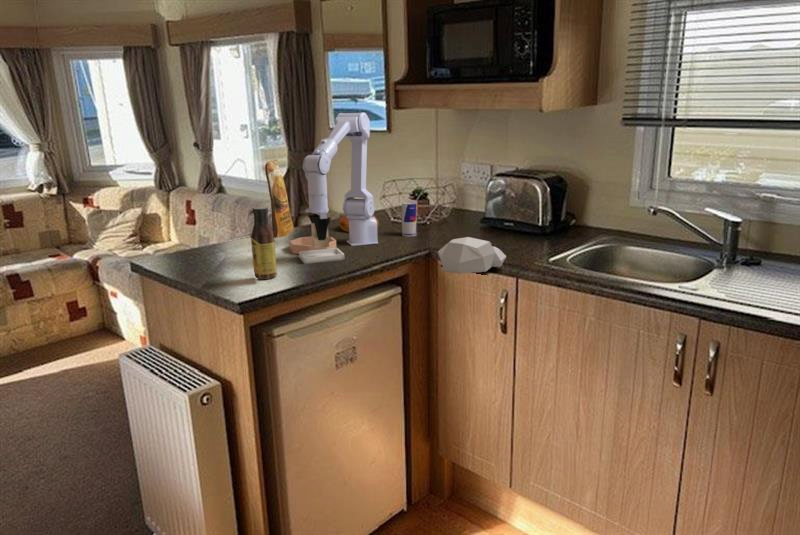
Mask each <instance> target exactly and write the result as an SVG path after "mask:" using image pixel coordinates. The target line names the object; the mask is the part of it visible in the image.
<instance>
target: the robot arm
mask: <svg viewBox="0 0 800 535" xmlns="http://www.w3.org/2000/svg"><path fill="white" fill-rule="evenodd" d="M370 128H371V119H370V117H369V116H368V114H367V113H366V112H363V111H362V112H349V113H348V112H347V113H345V112H344V113H343V112H339V113H338V114H337V116H336V118H335V119H334V127H333V129H332V130H331V133H330V134H329V136H328V137H327V138H326V137H325V138H322V139H321V140H320V142H319V144H318V145H317V146H316V148H315V149H314V151H313V152H312V153H311V154H308V155H307V156H305V157H304V159H303V161H302V170H303V171H304V175H305V178H306V181H307V195H308V206H309V207H308V208H307V209H305V212H306V213H311V214H308V215H307V217H308V218H309V221H310V224H311V223H314V224H315V227H316V232H317V236H318V240H325V239H326V234H327V228H328V229H329V224H330V222H331V219H332V218H331V217H330V216H328V213H329V210H330V209H329V201H328V184H327V182H328V181H327V180H328V179H327V173H329V171H330V168H331V163H332V159H333V158H334V157H335V155H336V154H337V152H338V144H339V143H340V142H341V141H342V140H343V139H344V138H346V139H348V140H349V141H350V142H351V162H350V163H351V164H350V168H351V170H350V172H351V173H350V190H348V192H346V193H345V194H344V200H343V203H342V212H343V214H344V215H346V216H347V218H349V232H348V234H349V239H348V240H346V243H347V244H349V245H350V246H352V247H355V246H356V247H357V246H367V245H376V244H379V241H378V229H377V222H376V219H375V217H376V216H375V217H371V216H372V215H374V213H375V209H376V206H375V202H374V201H375V200H374V195H373V194H372V193H371V192H370V191H368V189H367V170H368V169H367V165H368V164H367V163H368V162H367V161H368V160H367V159H368V139H369V138H370V136H371V135H370V133H371V129H370Z"/></svg>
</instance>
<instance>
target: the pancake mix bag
mask: <svg viewBox="0 0 800 535" xmlns="http://www.w3.org/2000/svg"><path fill="white" fill-rule="evenodd" d="M264 172H265V174H264V175H265V176H266V182H267V187H268V194H269V198H270V206H271V208H270V210H271V211H270V212H271V228H272V230H273V233H274V238H276V237H277V239H279V238H282V237H283V238H284V237H286V236H288V235H289V234H291V233H292V232H294V224H293V222H294V221H293V219H292V215H291V211H290V204H289V199H288V193H287V189H286V185H285V180H284V177H283V174H282V172H281V168H280V166H279V161H278V159H274V160H270V161H267V162H266V164H265V166H264ZM278 237H279V238H278Z"/></svg>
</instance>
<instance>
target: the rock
mask: <svg viewBox="0 0 800 535" xmlns="http://www.w3.org/2000/svg"><path fill="white" fill-rule="evenodd" d="M437 254H438V257H439V259H440V262H441V265H442V271H443V272H444V273H452V274H470V273H472V274H473V273H482V272H484V273H485V272H488V270H490V269H491V268H492V267H493V268H496V267H497V268H498V267H501V266H502V265H503V264H504V262H505V260H506V258H507V255H506V254H505V253H504V252H503V251H502V250H501V249H500V248H498V247H496V246H492V242H491V241H490V240H489V241H488V240H484V239H480V238H475V237H470V236H465V237H460V238H459V237H458V238H453V239H451V240H450V241H448V243H446V244H445V245H444V246H443V247H441V248H440V249H439V250H438V251H437Z"/></svg>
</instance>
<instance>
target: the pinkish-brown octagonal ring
mask: <svg viewBox="0 0 800 535" xmlns="http://www.w3.org/2000/svg"><path fill="white" fill-rule="evenodd" d="M332 248H338V247H337V240H336V239H335V238H334V237H333V236H329V247H320V248H315V247H314V246H313V245H312V235H311V236H302V237H298V238H293V239H291V240H289V250H290V252H292V254H295V255H299V252H300V251H311V250H322V249H332Z"/></svg>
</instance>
